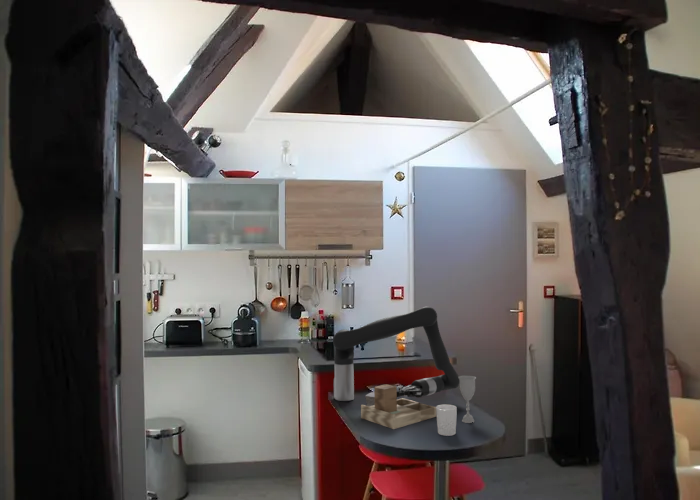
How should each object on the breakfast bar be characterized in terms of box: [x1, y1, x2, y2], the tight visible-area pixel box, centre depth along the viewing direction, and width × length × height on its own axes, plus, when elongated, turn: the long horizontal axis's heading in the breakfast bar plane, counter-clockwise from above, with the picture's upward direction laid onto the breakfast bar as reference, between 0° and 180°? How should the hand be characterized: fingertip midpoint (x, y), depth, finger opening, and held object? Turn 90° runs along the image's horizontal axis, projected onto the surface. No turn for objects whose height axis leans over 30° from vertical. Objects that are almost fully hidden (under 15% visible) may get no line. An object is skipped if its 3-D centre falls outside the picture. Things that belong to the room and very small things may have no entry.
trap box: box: [360, 397, 437, 430], centre depth 225 cm, size 20×25×6 cm
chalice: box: [458, 375, 477, 424], centre depth 219 cm, size 7×7×18 cm
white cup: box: [435, 403, 458, 437], centre depth 204 cm, size 8×8×10 cm
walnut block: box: [373, 383, 398, 413], centre depth 221 cm, size 6×7×10 cm
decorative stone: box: [365, 391, 375, 406], centre depth 240 cm, size 15×7×10 cm
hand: (395, 394), depth 225 cm, fingers closed
